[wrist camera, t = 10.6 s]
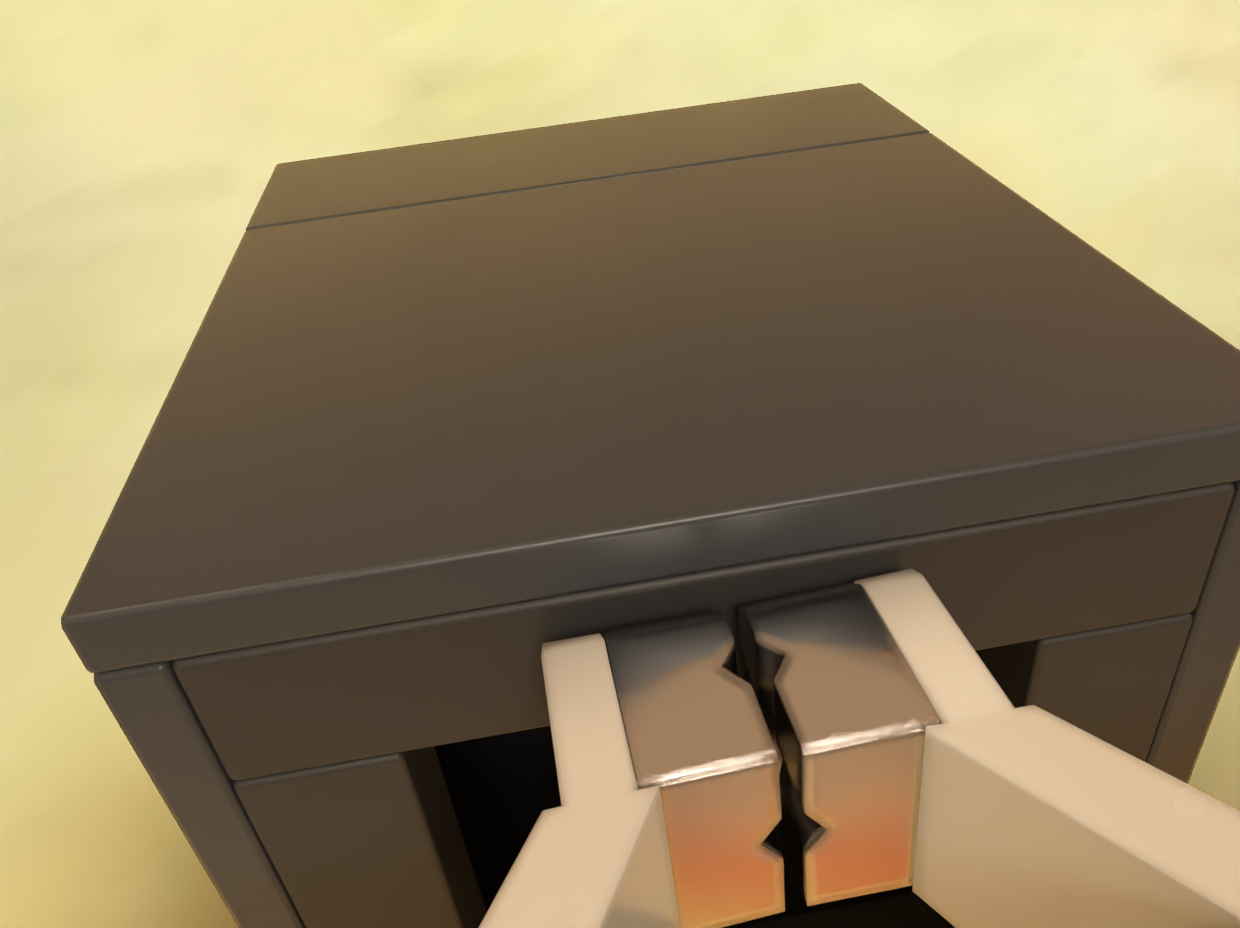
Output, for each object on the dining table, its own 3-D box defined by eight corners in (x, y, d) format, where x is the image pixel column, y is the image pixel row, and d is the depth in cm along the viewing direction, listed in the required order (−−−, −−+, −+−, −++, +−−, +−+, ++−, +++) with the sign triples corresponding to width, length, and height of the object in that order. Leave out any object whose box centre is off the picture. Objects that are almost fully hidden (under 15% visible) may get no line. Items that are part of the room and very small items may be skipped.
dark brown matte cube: (1100, 1021, 14) (1334, 411, 8) (378, 1166, 13) (54, 623, 7) (841, 532, 22) (861, 81, 17) (408, 604, 22) (275, 163, 16)
